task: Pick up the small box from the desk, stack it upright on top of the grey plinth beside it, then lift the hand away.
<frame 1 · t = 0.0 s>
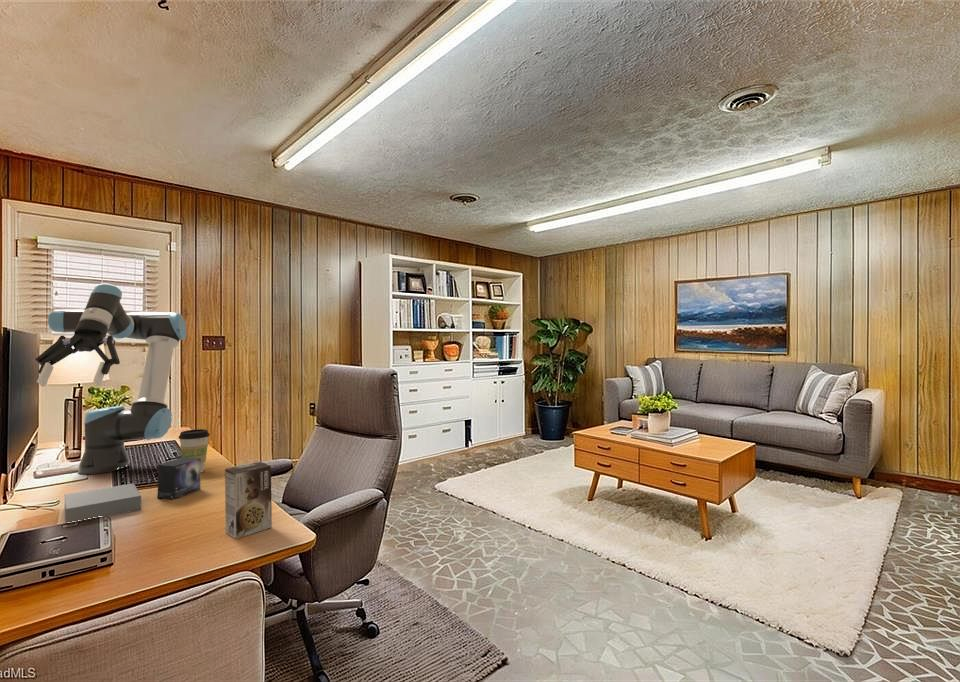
hand: (69, 383, 134), 36 cm above the table, tool tilted 35°, fingers open, 13 cm apart
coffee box: (248, 531, 118), on the table
small box: (179, 494, 147), on the table
plinth: (102, 509, 134), on the table
coffee cup: (194, 472, 172), on the table
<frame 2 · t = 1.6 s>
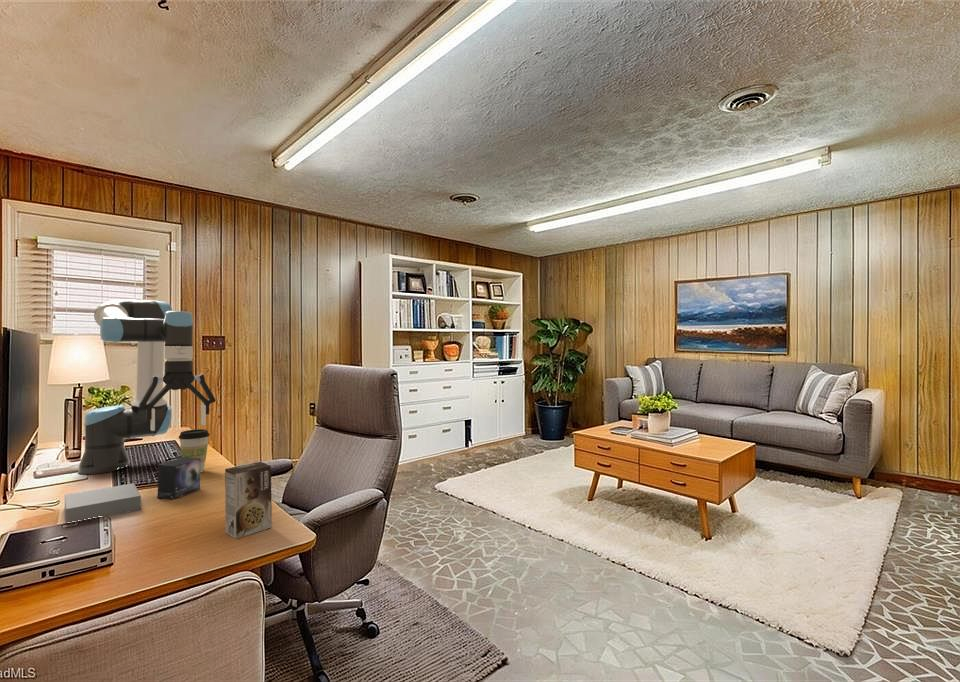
hand: (178, 427, 147), 21 cm above the table, tool pointing down, fingers open, 13 cm apart
nothing on the table moved.
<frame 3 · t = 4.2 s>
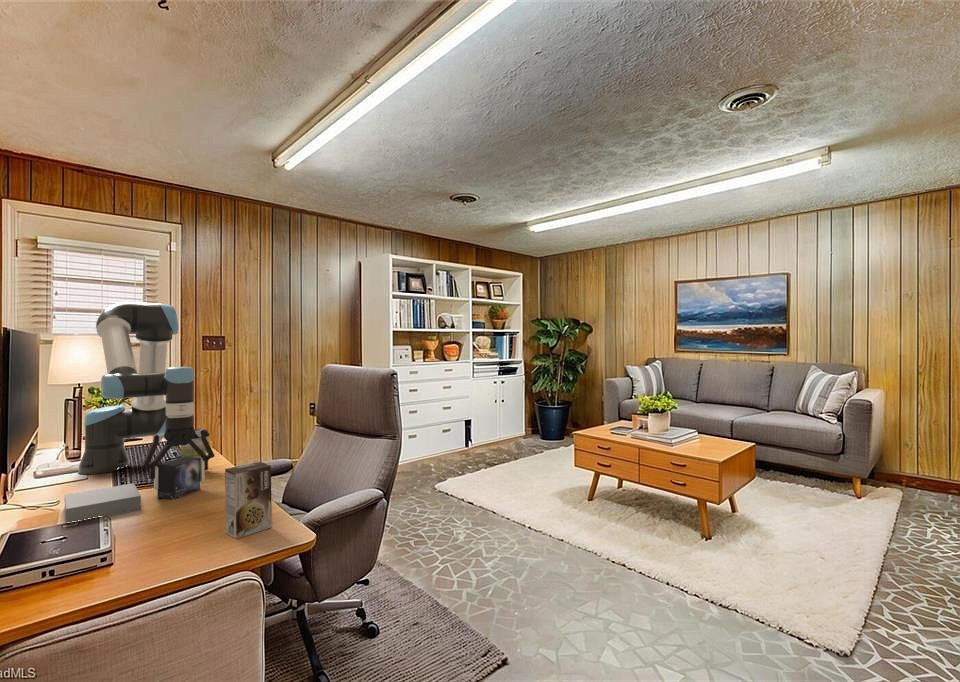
hand: (179, 484, 147), 3 cm above the table, tool pointing down, fingers closed on small box, 12 cm apart
small box: (179, 494, 147), on the table, touching gripper
everything else where it was.
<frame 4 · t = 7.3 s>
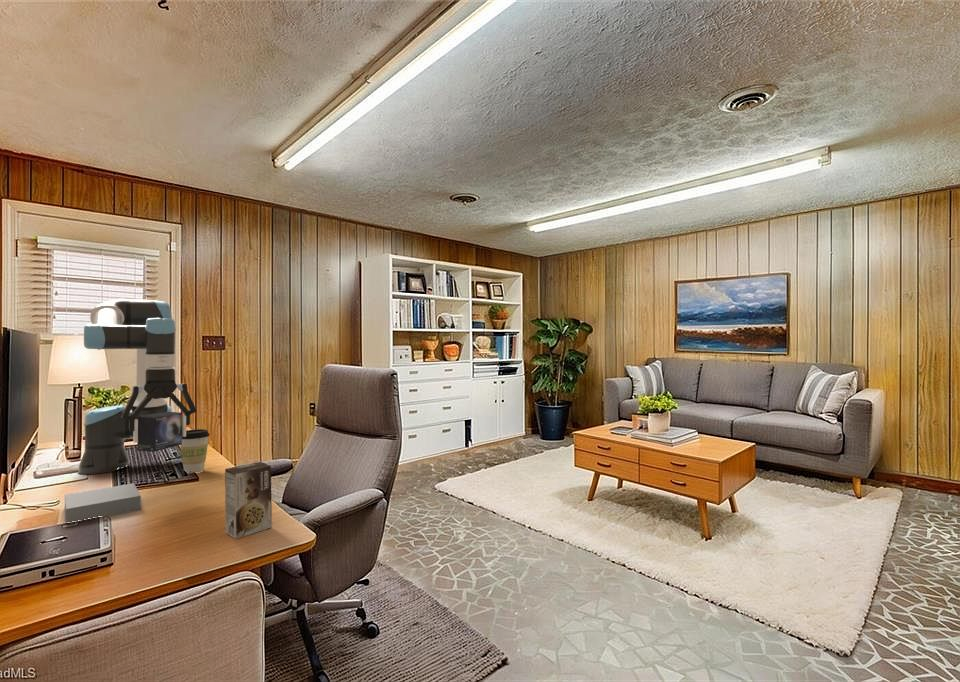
hand: (160, 438, 144), 18 cm above the table, tool pointing down, fingers closed on small box, 12 cm apart
small box: (160, 448, 144), point 15 cm above the table, touching gripper
everything else where it was.
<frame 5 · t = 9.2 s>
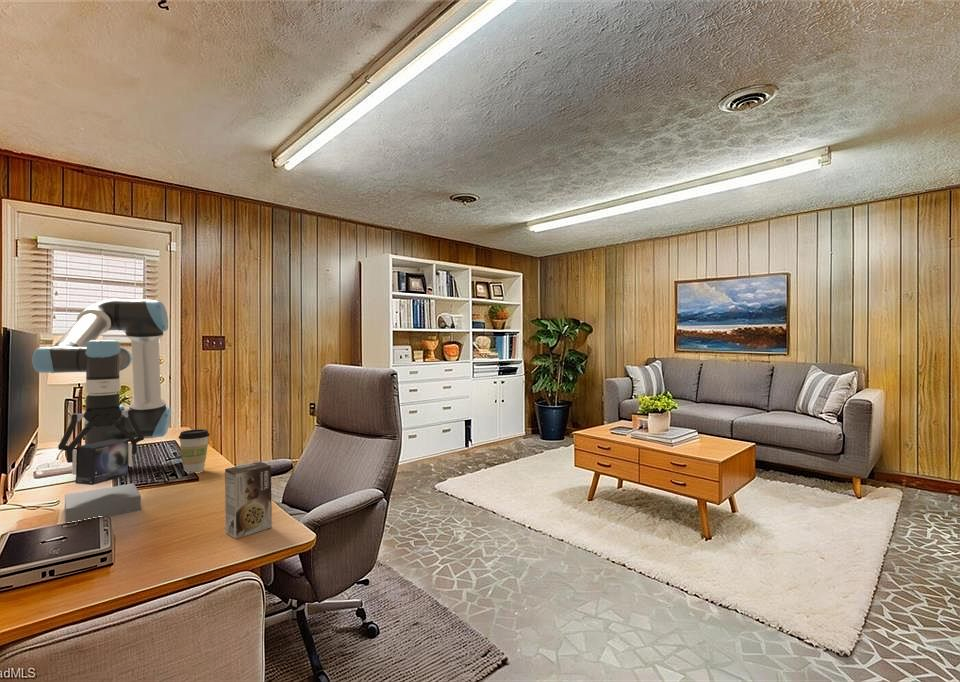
hand: (102, 469, 134), 11 cm above the table, tool pointing down, fingers closed on small box, 12 cm apart
small box: (102, 480, 134), point 8 cm above the table, touching gripper
everything else where it was.
when the fingers open (8 cm above the table, at t = 10.9 s): small box drops 1 cm, resting on plinth.
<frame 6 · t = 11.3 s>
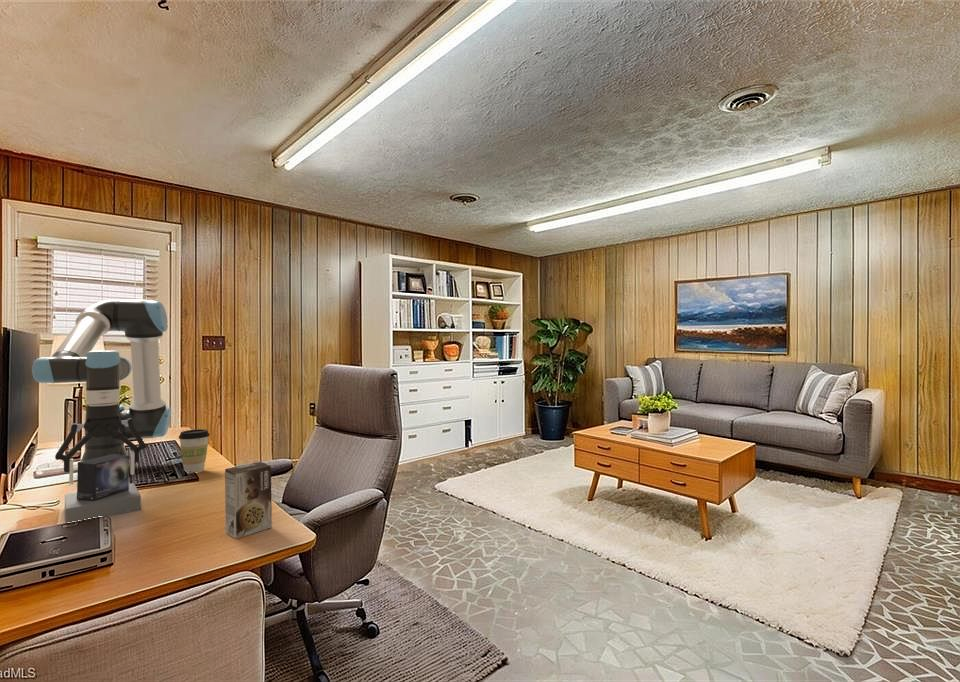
hand: (102, 478, 134), 9 cm above the table, tool pointing down, fingers open, 13 cm apart
small box: (103, 495, 134), point 4 cm above the table, touching plinth
everything else where it was.
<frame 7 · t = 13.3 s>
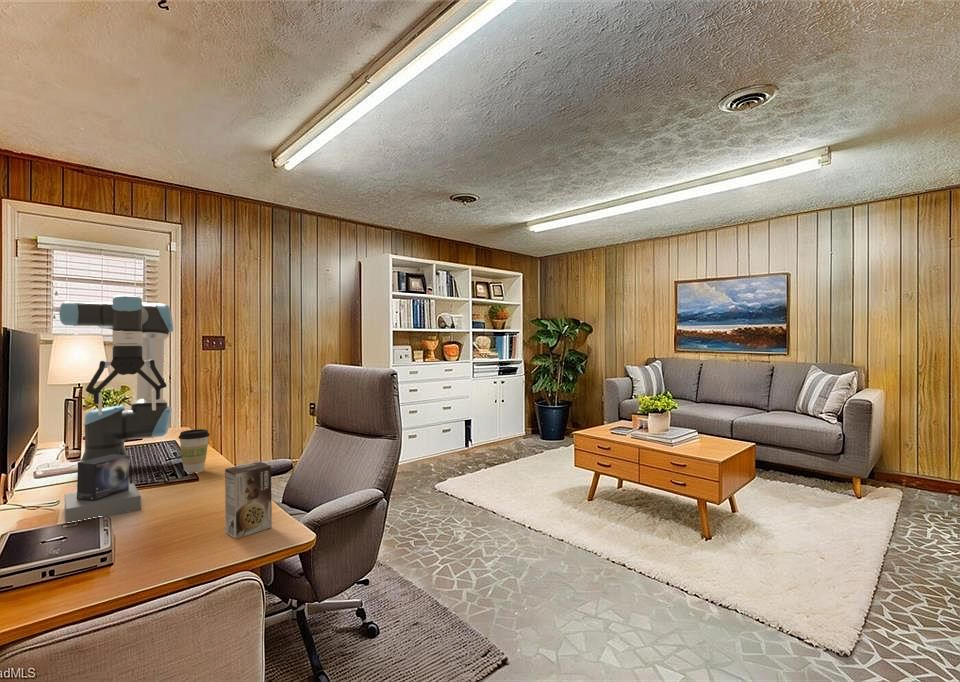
hand: (127, 412, 147), 26 cm above the table, tool pointing down, fingers open, 13 cm apart
nothing on the table moved.
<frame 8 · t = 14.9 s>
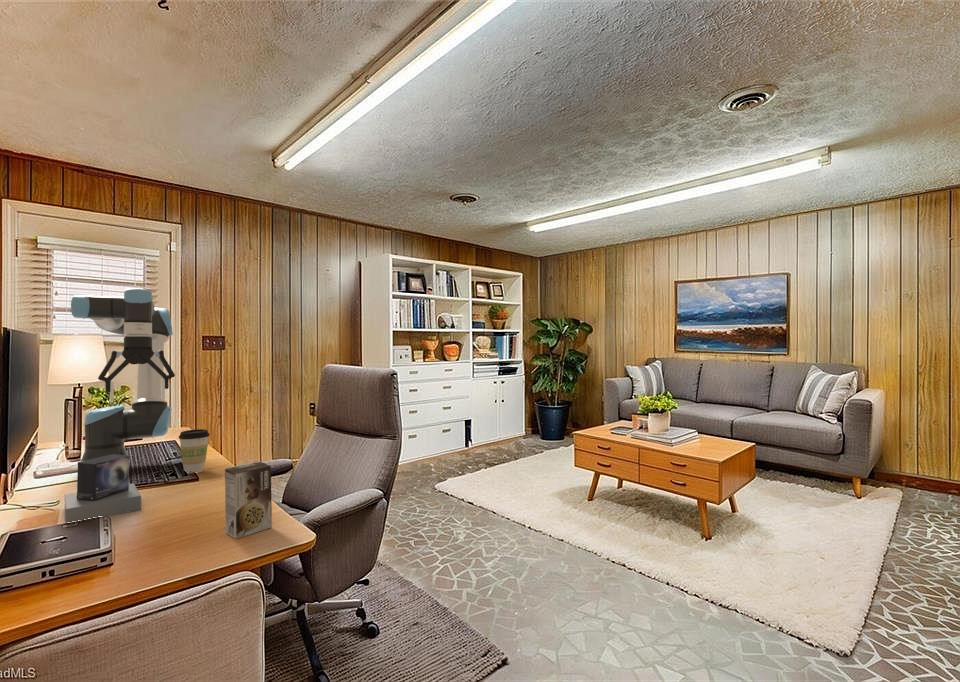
hand: (137, 400, 153), 29 cm above the table, tool pointing down, fingers open, 13 cm apart
nothing on the table moved.
at the end: small box inside the target area on the plinth (0.2 cm from its centre), point 3.8 cm above the plinth's base; small box tilted 0°; the gripper is holding nothing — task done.
